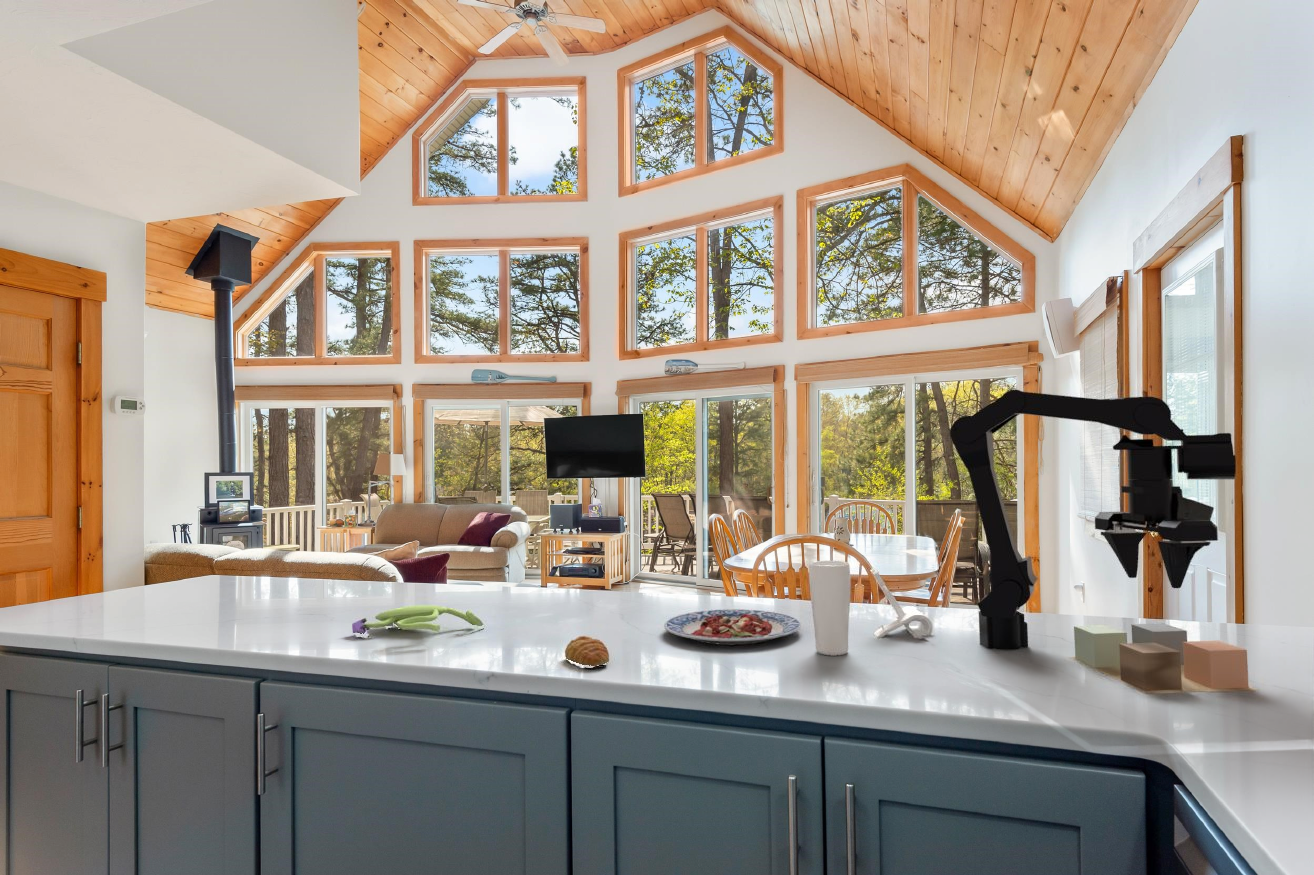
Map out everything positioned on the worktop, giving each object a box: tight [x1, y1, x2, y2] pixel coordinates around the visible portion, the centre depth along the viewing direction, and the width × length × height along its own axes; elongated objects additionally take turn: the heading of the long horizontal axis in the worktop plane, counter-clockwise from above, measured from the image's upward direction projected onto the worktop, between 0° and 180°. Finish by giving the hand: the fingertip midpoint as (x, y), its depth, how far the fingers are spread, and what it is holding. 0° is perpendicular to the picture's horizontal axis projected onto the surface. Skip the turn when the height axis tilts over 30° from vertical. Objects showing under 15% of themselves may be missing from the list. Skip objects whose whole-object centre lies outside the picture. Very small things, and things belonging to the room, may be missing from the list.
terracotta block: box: [1183, 640, 1250, 689], centre depth 102 cm, size 5×5×5 cm
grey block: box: [1130, 622, 1188, 665], centre depth 113 cm, size 5×5×5 cm
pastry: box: [564, 635, 610, 666], centre depth 123 cm, size 9×7×4 cm
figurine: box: [351, 604, 484, 634], centre depth 148 cm, size 18×27×6 cm
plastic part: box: [869, 567, 934, 639], centre depth 138 cm, size 8×10×12 cm
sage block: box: [1073, 624, 1128, 668], centre depth 113 cm, size 5×5×5 cm
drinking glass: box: [808, 560, 851, 657], centre depth 126 cm, size 7×7×15 cm
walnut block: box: [1119, 642, 1182, 691], centre depth 102 cm, size 5×5×5 cm
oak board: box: [1068, 656, 1259, 695], centre depth 107 cm, size 15×18×1 cm
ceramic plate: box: [663, 608, 802, 645], centre depth 141 cm, size 26×26×3 cm
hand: (1153, 582), depth 113 cm, fingers open, 9 cm apart
